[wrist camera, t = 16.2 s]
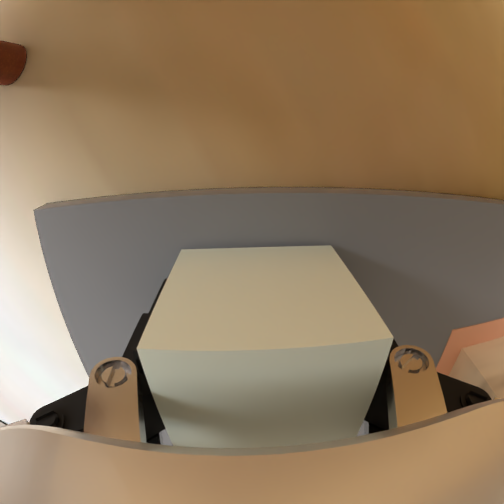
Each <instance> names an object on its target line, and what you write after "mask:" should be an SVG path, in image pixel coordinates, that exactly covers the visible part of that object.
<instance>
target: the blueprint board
mask: <svg viewBox="0 0 504 504" xmlns="http://www.w3.org/2000/svg"><path fill="white" fill-rule="evenodd" d="M34 215H35V220H36V225H37V230H38V234H39V239H40V243H41V247H42V251H43V255H44V259H45V262H46V266H47V269H48V273H49V276H50V279H51V283H52V286H53V289H54V292H55V295H56V298H57V301H58V304H59V307H60V310H61V312H62V315H63V318H64V321H65V323H66V326H67V328H68V331H69V333H70V336H71V338H72V341H73V343H74V345H75V348H76V350H77V352H78V355H79V357H80V359H81V361H82V363H83V366H84V368H85V370H86V372H87V374H88V376H89V377H90V373H91V370H92V369H93V367H94V366H95V365H96V364H98V363H99V362H100V361H102V360H104V359H107V358H111V357H122V356H123V354H124V351H125V349H126V347H127V345H128V343H129V340H130V338H131V336H132V334H133V332H134V330H135V328H136V326H137V323H138V321H139V319H140V317H141V315H142V314H143V313H149V311H150V309H151V307H152V304H153V302H154V300H155V298H156V296H157V294H158V292H159V289H160V287H161V285H162V283H163V281H164V279H168V276H169V274H170V272H171V270H172V268H173V266H174V264H175V262H176V260H177V258H178V256H179V253H180V251H181V249H213V248H248V247H285V246H324V245H331V246H332V247H333V249H334V250H335V251H336V253H337V254H338V256H339V257H340V258H341V260H342V261H343V263H344V264H345V265H346V267H347V268H348V270H349V271H350V273H351V274H352V275H353V277H354V278H355V280H356V281H357V283H358V284H359V285H360V287H361V288H362V290H363V291H364V293H365V294H366V296H367V297H368V299H369V300H370V302H371V303H372V305H373V306H374V308H375V309H376V311H377V312H378V314H379V315H380V317H381V318H382V320H383V321H384V323H385V324H386V326H387V328H388V329H389V331H390V332H391V334H392V335H393V337H394V339H395V341H396V343H397V344H398V346H402V345H413V346H417V347H420V348H422V349H424V350H425V351H427V352H428V353H429V354H430V355H431V357H432V359H433V361H434V364H435V368H436V371H437V372H439V373H441V374H444V375H447V376H448V375H449V374H450V372H451V370H452V368H453V366H454V364H455V362H456V360H457V357H458V355H459V353H460V351H461V349H462V348H465V347H468V346H472V345H476V344H480V343H483V342H487V341H490V340H493V339H497V338H500V337H503V336H504V200H498V199H490V198H482V197H473V196H463V195H453V194H442V193H431V192H418V191H403V190H385V189H363V188H330V187H253V188H219V189H196V190H178V191H163V192H149V193H136V194H125V195H114V196H104V197H95V198H86V199H77V200H69V201H61V202H54V203H47V204H45V205H43V206H41V207H39V208H37V209H35V210H34ZM364 423H365V420H364V421H363V423H362V425H361V428H360V430H359V432H358V434H357V436H362V435H364ZM161 432H162V437H163V443H164V445H169V446H173V444H172V442H171V440H170V438H169V435H168V433H167V431H166V429H164V430H163V431H161ZM357 436H356V437H357Z"/></svg>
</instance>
